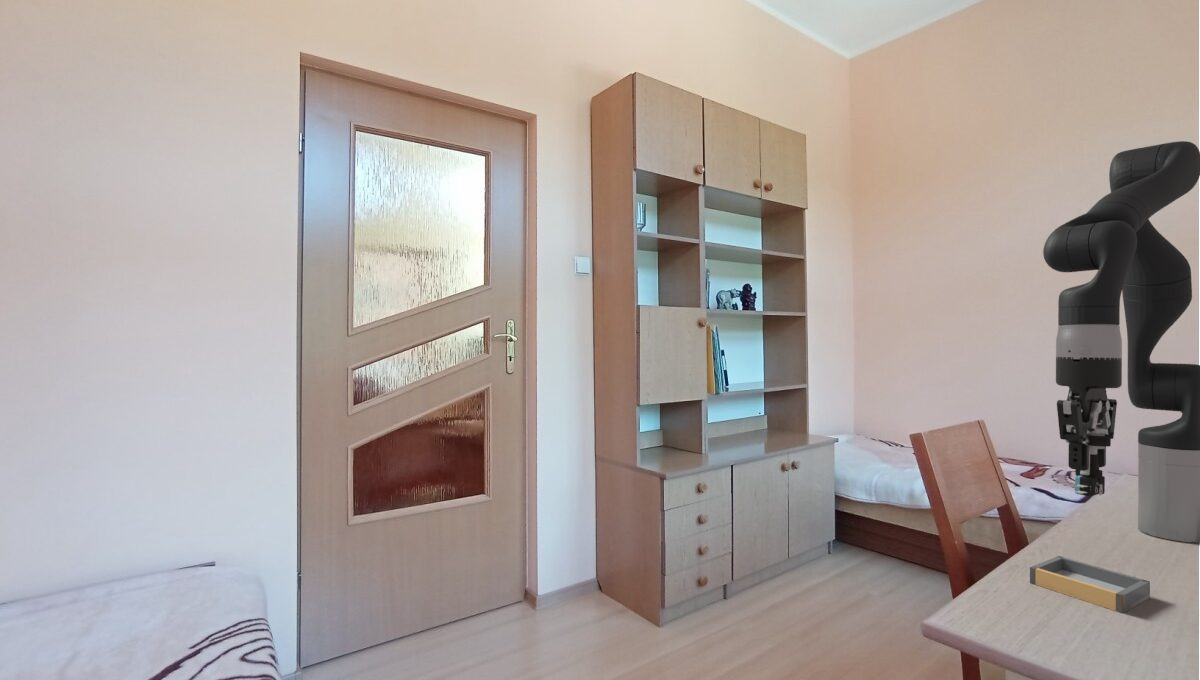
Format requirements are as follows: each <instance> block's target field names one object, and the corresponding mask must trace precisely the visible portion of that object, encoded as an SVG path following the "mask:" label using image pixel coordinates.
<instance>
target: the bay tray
mask: <svg viewBox="0 0 1200 680" xmlns="http://www.w3.org/2000/svg"><path fill="white" fill-rule="evenodd" d="M1029 583H1030V584H1033V585H1035V586H1039V587H1041V588H1043V589H1044V588H1046V589H1048V590H1050V591H1053V592H1057V593H1059V594H1063V595H1067V596H1069V597H1073V598H1075V599H1079V600H1082V601H1085V602H1088V603H1091V604H1093V605H1096V606H1099V607H1103V608H1106V609H1108V610H1112V611H1115V612H1118V613H1120V614H1121V613H1122V614H1123V613H1126V612H1128V611H1129V610H1132V609H1133V608H1135V607H1136V606H1138V605H1140V604H1142V603H1143V602H1145V601H1147V600H1149V599H1150V597H1151V585H1150V584H1151V581H1150V580H1146V579H1143V578H1138V577H1135V576H1131V575H1127V574H1125V573H1122V572H1117V571H1114V570H1110V569H1107V568H1103V567H1099V566H1096V565H1093V564H1089V563H1085V562H1082V561H1078V560H1074V559H1071V558H1068V557H1064V556H1060V555H1058V556H1055V557H1054V558H1050V559H1047V560H1045V561H1042V562H1039V563H1036V564H1035V565H1032V566H1030V567H1029Z"/></svg>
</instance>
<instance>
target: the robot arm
mask: <svg viewBox="0 0 1200 680" xmlns="http://www.w3.org/2000/svg"><path fill="white" fill-rule="evenodd" d="M1108 175H1109V179H1108V180H1109V187H1110V188H1109V189H1110V192H1109V193H1108V194H1106V195H1104V196H1103V197H1102V198H1100V199H1099V200H1097V202H1096V203H1094V205H1093V206H1092V207H1090V209H1089V210H1088V211H1086V212H1085V213H1083V214H1081V215H1079V216H1077V217H1075V218H1073V219H1071V220H1069V221H1067V222H1065V223H1063V224H1061V225H1060V226H1058V227H1057V228H1055V229H1054V230H1053V231H1052V232H1051V233H1050V234H1049V235H1048V236H1047V238H1046V241H1045V243H1044V246H1043V250H1042V251H1043V252H1042V254H1043V260H1044V261H1045V263H1046V264H1047V266H1048V267H1049V268H1051V269H1052V270H1054V271H1056V272H1060V273H1078V272H1086V271H1088V272H1089V271H1097V272H1096V274H1095V275H1094V277H1093V278H1092V279H1091V280H1090V281H1088V282H1086V283H1083V284H1080V285H1075V286H1072V287H1069V288H1066V289H1063V290H1061V292H1060V293H1059V295H1058V301H1057V302H1058V303H1057V304H1058V305H1057V306H1058V315H1057V316H1058V321H1057V322H1058V326H1057V332H1056V333H1057V335H1056V338H1055V339H1056V340H1055V383H1056V385H1057V386H1061V387H1068V388H1069V390H1068V394H1067V398H1066V400H1062V399H1058V400H1057V401H1056V408H1057V409H1056V411H1057V420H1058V421H1057V423H1058V431H1059V438H1060V440H1064V441H1065V442H1066V443H1067V444H1068V467H1069V469H1072V470H1075V469H1076V470H1082V471H1085V470H1088V469H1089V446H1088V444H1089V440H1090V434H1091V432H1092V431H1094V430H1095V429H1096V427H1101V428H1105V433H1107V434H1108V435H1112V436H1114V435H1115V427H1116V426H1115V425H1116V417H1117V416H1116V415H1117V405H1118V401H1117V399H1113V398H1112V399H1111V398H1108V393H1107V389H1120V388H1121V387H1122V384H1123V381H1122V380H1123V379H1122V377H1123V376H1122V375H1123V372H1122V371H1123V370H1122V368H1123V367H1122V366H1123V364H1122V363H1123V340H1122V334H1121V326H1120V322H1121V321H1120V319H1121V318H1120V311H1121V310H1120V309H1121V308H1120V307H1121V295H1122V302H1123V310H1124V317H1125V318H1124V319H1125V325H1126V332H1127V333H1126V334H1127V335H1126V337H1127V339H1126V340H1127V392H1128V398H1129V400H1130V403H1131V404H1132V405H1133V406H1134V407H1135V408H1138V409H1143V410H1153V411H1154V410H1156V411H1167V412H1169V411H1170V412H1180V413H1181V414H1182V415H1181V417H1179V418H1178V419H1176V420H1174V421H1171V422H1168V423H1166V424H1161V425H1154V426H1148V427H1144V428H1141V429H1139V430H1138V434H1137V442H1138V443H1137V444H1138V445H1137V447H1138V449H1137V450H1138V451H1137V452H1138V453H1137V459H1138V462H1137V463H1138V464H1137V466H1138V467H1137V469H1138V470H1137V473H1138V474H1137V475H1138V477H1137V478H1138V479H1137V480H1138V481H1137V483H1138V484H1137V486H1138V487H1137V492H1138V495H1137V497H1138V498H1137V503H1138V505H1137V520H1138V521H1137V529H1138V530H1139V532H1142V533H1144V534H1147V535H1150V536H1153V537H1155V538H1156V537H1157V538H1160V539H1161V538H1162V539H1166V540H1171V541H1177V542H1182V543H1200V364H1195V363H1169V362H1168V363H1167V362H1166V363H1163V362H1161V363H1160V362H1157V363H1156V362H1152V361H1151V355H1152V353H1153V351H1154V349H1155V348H1156V346H1157V344H1158V343H1159V341H1160V340H1161V338H1162V337H1164V335H1165V334H1166V332H1168V330H1169V329H1170V328H1171V327H1172V326H1173V325H1174V324H1175V323H1176V322H1177V321H1178V320H1179V318H1181V316H1182V315H1183V314H1184V313H1185V312H1186V310H1187V309H1188V307H1189V306H1190V304H1191V302H1192V299H1193V286H1192V285H1193V283H1192V269H1191V266H1190V263H1189V261H1188V259H1187V258H1186V257H1185V256H1184V255H1183V253H1182V252H1181V251H1180V250H1179V249H1178V248H1177V247H1176V246H1175V245H1173V244H1172V243H1171V241H1169V240H1168V239H1167V238H1166V237H1164V236H1163V235H1162V234H1161V233H1160V232H1159V231H1158V229H1156V228H1155V227H1154V225H1153V224H1152V222H1151V221H1150V218H1151V217H1153V216H1154V215H1155V214H1156V213H1158V212H1159V211H1161V210H1163V209H1164V208H1165V207H1167V206H1169V205H1170V204H1172V203H1174V202H1175V201H1176V200H1178V199H1179V198H1181V197H1183V196H1185V195H1186V194H1188V193H1189V192H1191V190H1192V189H1194V188H1195V186H1196V185H1197V183H1198V181H1199V179H1200V150H1199V148H1198V146H1197V144H1195V143H1193V142H1191V141H1185V140H1183V141H1182V140H1181V141H1179V140H1178V141H1172V142H1166V143H1161V144H1155V145H1148V146H1143V147H1138V148H1133V149H1127V150H1123V151H1120V152H1118V153H1116V154H1115V155H1114V157H1112V160H1111V162H1110V165H1109V173H1108ZM1074 431H1076V433H1075V432H1074ZM1097 455H1098V463H1099V468H1103V467H1106V466H1107V447H1105V449H1097Z"/></svg>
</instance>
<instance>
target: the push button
mask: <svg viewBox="0 0 1200 680" xmlns="http://www.w3.org/2000/svg"><path fill="white" fill-rule="evenodd" d="M1074 432H1075V433H1076V431H1074ZM1114 438H1115V437H1114V436H1112V435H1108V434H1107V433H1105V428H1101V427H1096V429H1095V430H1094V431H1092V432H1091V434H1090V440H1089V444H1088V446H1089V469H1088V470H1085V471H1082V470H1076V469H1074V470H1075V477H1074V479H1075V481H1074V491H1075V492H1074V493H1075V494H1076V495H1080V496H1086V497H1093V496H1097V495H1099V496H1102V495H1104V494H1105V491H1106V488H1105V485H1106V478H1105V475H1104V476H1103V472H1104V471H1103V470H1102V469H1100V467H1099V463H1098V455H1097V449H1105V447H1106V448H1107V447H1111V444H1112V443H1111V441H1112V440H1113V439H1114Z"/></svg>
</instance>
